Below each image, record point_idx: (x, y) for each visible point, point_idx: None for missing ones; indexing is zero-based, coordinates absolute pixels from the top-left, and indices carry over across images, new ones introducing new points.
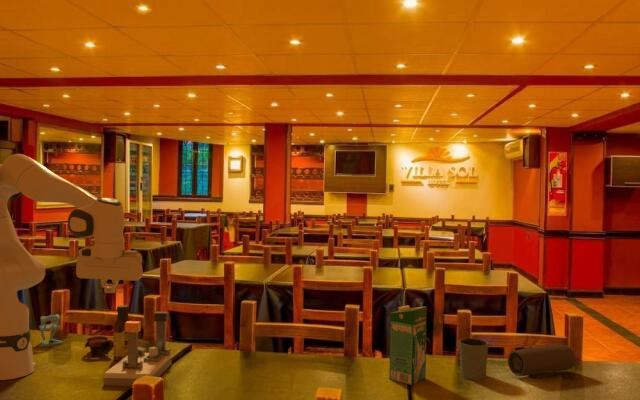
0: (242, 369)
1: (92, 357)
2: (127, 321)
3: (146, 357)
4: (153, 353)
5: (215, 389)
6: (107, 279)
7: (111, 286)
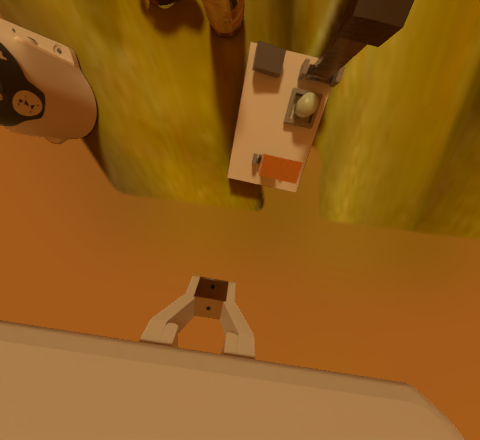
0: (457, 122)
1: (161, 4)
2: (263, 158)
3: (289, 115)
4: (306, 116)
5: (381, 210)
6: (175, 337)
7: (212, 299)
